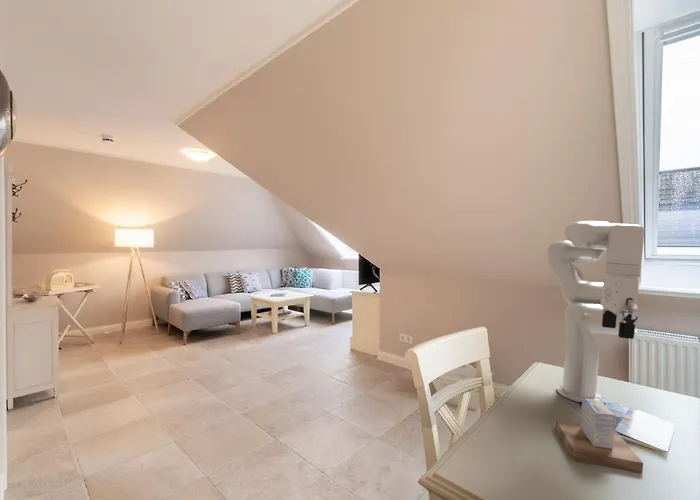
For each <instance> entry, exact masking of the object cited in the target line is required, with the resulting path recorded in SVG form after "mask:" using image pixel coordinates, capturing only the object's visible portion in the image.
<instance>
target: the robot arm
mask: <svg viewBox="0 0 700 500" xmlns="http://www.w3.org/2000/svg"><path fill="white" fill-rule="evenodd" d="M564 236H565V239H566V240H556V241H554V242H551V243H550V244H549V245H548V247H547V254H546V255H547V260H548V265H549V267H550V270H551V271H552V272H553V274H554V276H556V279H557V280H558V283H559V287H560V290H561V293H562V297H563V299H564V301H565V302H566V304H567V306H566V307H565V312H564V320H565V330H566V332H565V334H566V335H565V353H564V364H563V366H564V367H563V377H562V383H560V384H558V385H557V386H556V390H557V393H559V394H560V396H562V397H564V398H566V399H569V400H571V401H573V402H574V401H575V402H577V403H580V402H582V399H594V400H600V401H601V402H602V396H601V394H599V393H598V392H597V388H598V387H597V386H598V378H599V377H598V375H599V364H600V352H601V350H600V347H601V346H600V344H599V343H598V341H597V340H596V339H595V338H594V336H593V334H602V335H614V336H618V338H621V339H628V340H630V339H631V340H633V339H635V338H634V337H635V329H636V325H637V320H638V318H639V317H638V316H639V314H640V309H639V305H638V304H639V279H640V278H641V273H642V261H643V253H644V252H643V251H644V241H645V228H644V226H642V225H641V224H640V225H639V224H632V223H631V224H629V223H610V222H608V221H604V220H603V221H602V220H600V221H599V220H596V221H595V220H576V221H572V222H571V223H569V224H567V226H566V227H565V230H564ZM605 255H606V257H605ZM604 257H605V266H604V279H603V282H600V281H590V280H587V279H586V276H585V274H584V272H583V271H582V270H581V269H580V268H579V267H578V266H576V265H574V264H577V263H578V264H591V265H592V264H598V262H600V261H601V260H602V259H603V258H604ZM573 263H574V264H573Z"/></svg>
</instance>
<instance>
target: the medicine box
mask: <svg viewBox="0 0 700 500" xmlns="http://www.w3.org/2000/svg"><path fill="white" fill-rule="evenodd" d="M580 413H581V414H580V423H579V424H580V429H581V430H582V431H583V433H584V434H585V435H586V437H587V438H588V439H589V440H590V442H591V443H592V444H593V446H596V447H602V448H609V449H613V443H614V429H615V426H616V414H614V413H613V412H612V411H611V409H610V408H608V407H607V406H606V404H604V403H603V401H602V400H601V401H600V400H594V399H582V403H581V412H580ZM615 430H616V429H615Z"/></svg>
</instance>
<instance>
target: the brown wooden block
mask: <svg viewBox="0 0 700 500" xmlns="http://www.w3.org/2000/svg"><path fill="white" fill-rule="evenodd" d="M555 430H556V432H557V434H558V435H559V436H558V437H560V439H561V441H562V442H563V444H564V446H565V448H566V450H567V451H568V454H569V455H570V457H571V459H572V460H573V462H579V463H584V464H585V463H586V464H591V465H596V466H601V467H606V468H612V469H617V470H622V471H627V472H631V473H638V474H643V470H644V469H643V468H644V462H643V461H642V460H641V458H639V456H638V455H637V454H636V453H635V452H634V450H633V449H632V448H631V447H630V446H629V444H628V443H627V442H626V441H625V440H624V439H623V438H622V436H621V435H620V434H619V433H618V432H617V431H616V429H614V443H613V449H609V448H602V447H596V446H593V444H592V443H591V442H590V440H589V439H588V438H587V437H586V435H585V434H584V433H583V431H582V430H581V429H580V423H577V422H572V421H565V420H558V419H555Z"/></svg>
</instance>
